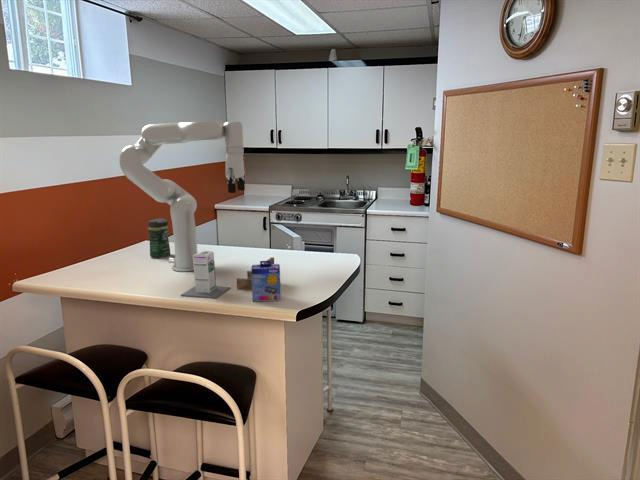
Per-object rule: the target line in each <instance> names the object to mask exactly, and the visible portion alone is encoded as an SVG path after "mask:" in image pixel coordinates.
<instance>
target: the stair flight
mask: <svg viewBox="0 0 640 480" xmlns="http://www.w3.org/2000/svg"><path fill="white" fill-rule="evenodd" d="M266 261H270V262H271V264H275V257H274V256H273V257H270V258H269V259H267V260H266ZM262 264H269V263H267V262H264V263H262ZM236 290H242V291H243V290H245V291H252V271H251V270H247V271H246V278H243V277H242V278H240V277H237V278H236Z"/></svg>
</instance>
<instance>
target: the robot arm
mask: <svg viewBox="0 0 640 480" xmlns="http://www.w3.org/2000/svg"><path fill="white" fill-rule="evenodd" d="M243 132H244V131H243V123H242V122H241V121H235V120H233V121H231V120H230V121H223V122H221V121H217V120H203V121H202V120H201V121H190V122H184V121H180V122H179V121H178V122H168V123H167V122H165V123H150V124H147V125H144V127H142V129H141V134H140V135H141V137H140V138H139V140H137V142H136V143H135V144H130V145H127V146H125V147H124V148H123V149H122V150H121V152H120V153H119V166H120V170H121V172H122V173H123V174H124V176H125V177H126V178H127V179H128V180H129V181H131V182H132V183H133V184H134V185H135V186H137V187H138V188H140V189H141V190H142V191H143V192H144V193H145V194H147V195H148V196H149V197H150V198H152V199H154V200H155V201H156V202H158V203H160V204H161V203H162V204H164V203H166V204H168V205H169V206H170V210H169V211H170V212H169V213H170V218H171V219H170V220H171V225H172V226H171V227H172V233H173V234H172V235H173V242H174V243H173V245H174V257H169V258H168V264H173V265H172V270H173V271H175V272H192V271H193V272H194V265H193V255H195V254H197V253H198V243H197V242H198V240H197V230H196V220H195V219H196V218H195V212H196V211H197V206H198V203H197V200H196V199H195V197H194V196H193V195H191V194H190V193H189V192H188V191H186V190H185V189H184V188H183V187H181V186H180V185H179V184H177V183H176V182H174V181H173V180H170V179H167V178H164V179H163V178H161V177H160V176H158V175H157V174H155V172H153V171H152V170H150V169H149V168H147V167H146V166H145V165H144V164H145V163H147V162H148V161H149V160H150V159H151V158H152V157H153V156H154V155H155V154H156V152H157V151H158V150H159V149H160V148H161V147H162V146H163V145H172V144H173V145H174V144H186V143H189V142H195V141H196V142H197V141H210V140H212V141H213V140H214V141H215V140H221V139H223V140H224V147H225V148H224V149H225V177H226V180H227V182H226V183H227V192H228V194H234V193H235V194H236V193H237V191H245V190H246V187H245V186H246V185H245V176H246V175H245V174H246V171H245V162H244V154H245V153H244V152H245V151H244V150H245V149H244V136H243V135H244V134H243ZM236 179H237V189H236V183H235V181H236Z"/></svg>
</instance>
